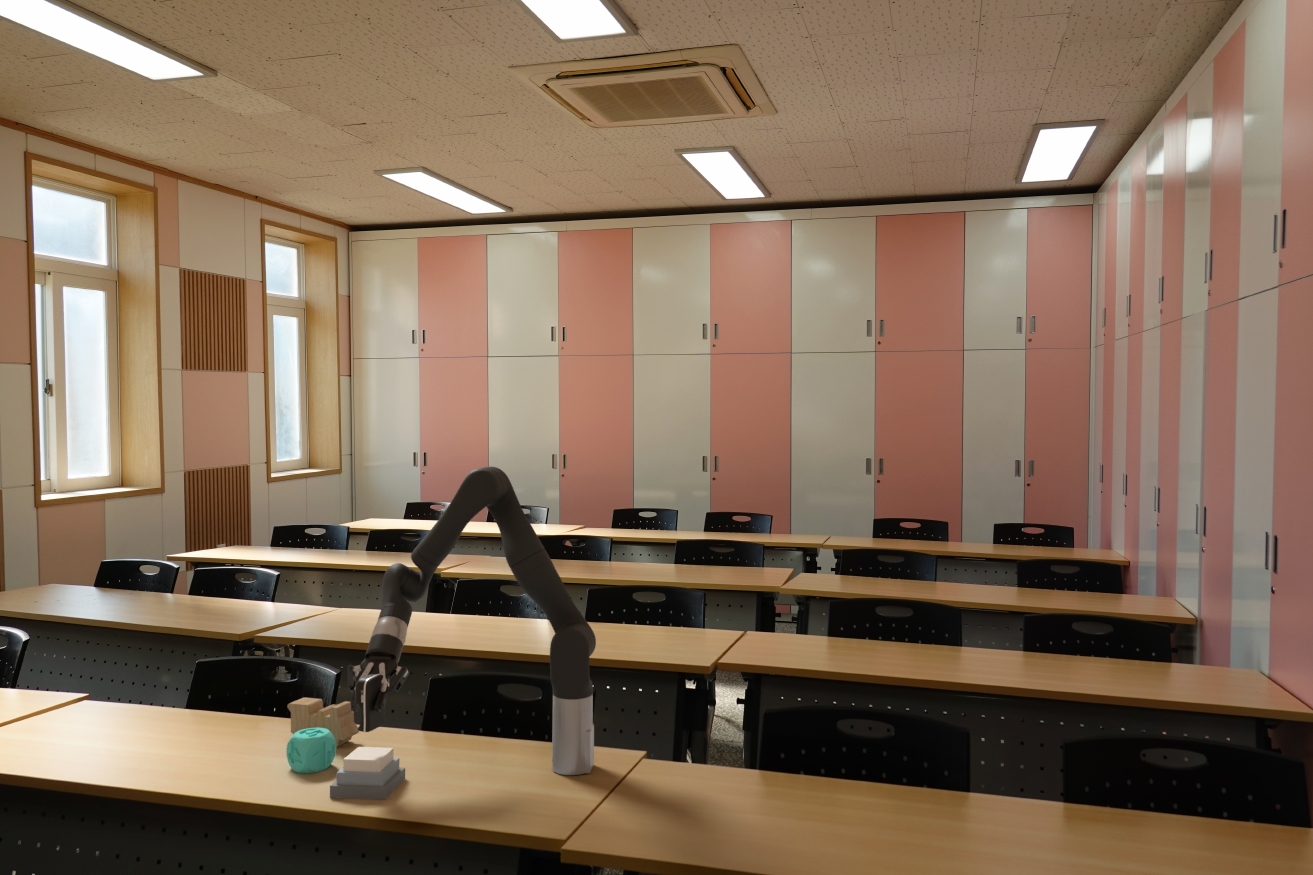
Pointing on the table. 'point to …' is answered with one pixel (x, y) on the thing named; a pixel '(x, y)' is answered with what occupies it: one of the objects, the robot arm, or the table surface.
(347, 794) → the block tower
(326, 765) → the decorative dice
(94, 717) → the table surface
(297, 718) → the toy train
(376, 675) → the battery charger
